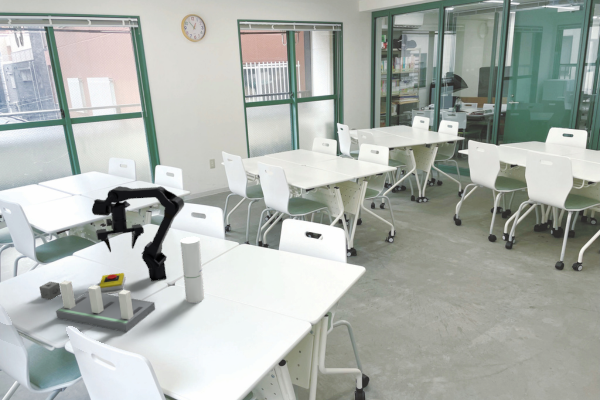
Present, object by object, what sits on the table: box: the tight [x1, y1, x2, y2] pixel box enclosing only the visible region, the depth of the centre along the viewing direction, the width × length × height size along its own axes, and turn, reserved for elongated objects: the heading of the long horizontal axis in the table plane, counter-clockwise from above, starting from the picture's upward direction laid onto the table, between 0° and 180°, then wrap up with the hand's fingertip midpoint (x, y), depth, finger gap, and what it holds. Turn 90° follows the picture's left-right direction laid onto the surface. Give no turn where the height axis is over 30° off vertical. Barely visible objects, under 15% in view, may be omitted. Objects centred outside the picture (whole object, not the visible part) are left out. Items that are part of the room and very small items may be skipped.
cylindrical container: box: [180, 236, 205, 304], centre depth 170 cm, size 7×7×25 cm
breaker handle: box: [87, 284, 104, 314], centre depth 158 cm, size 2×3×10 cm
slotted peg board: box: [55, 280, 156, 333], centre depth 162 cm, size 16×31×13 cm, turn 72°
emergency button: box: [98, 272, 126, 295], centre depth 185 cm, size 9×4×15 cm
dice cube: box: [39, 281, 62, 301], centre depth 177 cm, size 5×5×5 cm
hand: (121, 250), depth 191 cm, fingers open, 9 cm apart
